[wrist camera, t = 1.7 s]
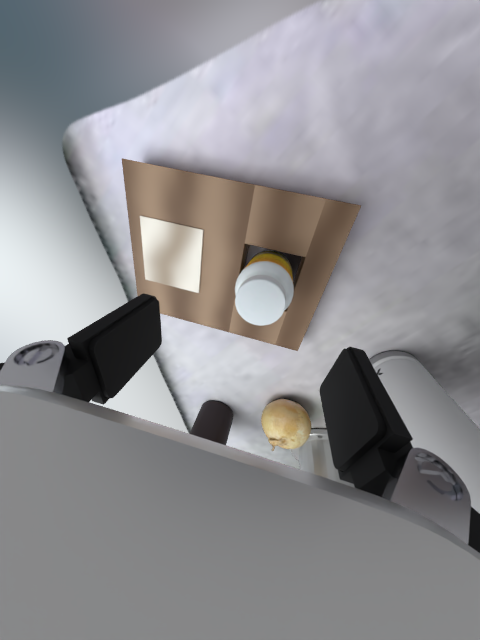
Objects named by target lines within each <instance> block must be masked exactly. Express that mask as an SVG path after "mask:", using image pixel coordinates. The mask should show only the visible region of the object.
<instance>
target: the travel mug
mask: <svg viewBox="0 0 480 640" xmlns="http://www.w3.org/2000/svg"><path fill="white" fill-rule="evenodd" d="M370 362H371V364H372V366H373V368H374V369H375V371H376V373H377V375H378V377H379V378H380V380H381V382H382V384H383V386H384V387H385V389H386V391H387V393H388V395H389V396H390V398H391V400H392V402H393V404H394V405H395V407H396V409H397V411H398V413H399V414H400V416H401V418H402V420H403V422H404V423H405V425H406V427H407V429H408V431H409V432H410V434H411V436H412V438H413V440H412V441H410V442H411V444H412V446H413V448H417V447H418V448H422V449H425V450H428V451H430V452H432V453H434V454H435V455H437V456H438V457H440V458H441V459H442V460H443V461H445V462H446V463H447V464H448V465H449V466H450V467H451V468H452V469H453V470H454V471H455V472H456V473H457V474H458V475H459V477H460V478H461V479H462V481H463V482H464V484H465V485H466V487H467V489H468V491H469V493H470V498H471V507H473V508H474V509H475V510H476V511H477V512H478V513H479V514H480V429H479V428H478V427H477V426H476V425H475V424H474V422H473V421H472V420H471V419H470V418H469V417H468V416H467V415H466V413H465V412H464V411H463V410H462V409H461V408H460V407H459V406H458V405H457V403H456V402H455V401H454V400H453V399H452V398H451V397H450V396H449V395H448V393H447V392H446V391H445V390H444V389H443V388H442V387H441V386H440V384H439V383H438V382H437V381H436V380H435V379H434V378H433V377H432V376H431V374H430V373H429V372H428V371H427V370H426V369H425V368H424V367H423V366H422V364H421V363H420V362H419V361H418V360H417V359H416V358H415V357H414V356H413V355H411V354H409V353H406V352H401V351H387V352H383V353H380V354H378V355H376V356H374V357H373V358H371V359H370Z"/></svg>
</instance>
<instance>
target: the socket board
mask: <svg viewBox="0 0 480 640" xmlns="http://www.w3.org/2000/svg"><path fill="white" fill-rule="evenodd" d="M122 165H123V174H124V182H125V191H126V200H127V208H128V217H129V226H130V234H131V243H132V251H133V260H134V269H135V277H136V286H137V295H138V296H139V295H141V294H143V293H144V294H148V295H152V296H155V297H156V298H157V300H158V301H159V306H160V313H161V314H164V315H168V316H172V317H175V318H179V319H183V320H186V321H190V322H194V323H197V324H201V325H205V326H208V327H212V328H216V329H219V330H223V331H227V332H230V333H234V334H237V335H241V336H245V337H248V338H252V339H256V340H259V341H263V342H267V343H270V344H274V345H278V346H281V347H285V348H289V349H292V350H296V351H298V349H299V347H300V344H301V342H302V340H303V337H304V335H305V333H306V331H307V328H308V326H309V324H310V321H311V319H312V317H313V315H314V312H315V310H316V308H317V306H318V303H319V301H320V299H321V296H322V294H323V292H324V290H325V287H326V285H327V283H328V280H329V278H330V276H331V274H332V271H333V269H334V267H335V265H336V262H337V260H338V258H339V255H340V253H341V251H342V249H343V246H344V244H345V242H346V239H347V237H348V235H349V233H350V230H351V228H352V226H353V223H354V221H355V219H356V217H357V214H358V212H359V210H360V208H361V205H356V204H351V203H345V202H340V201H335V200H330V199H325V198H320V197H315V196H310V195H305V194H300V193H295V192H289V191H284V190H279V189H274V188H269V187H264V186H259V185H254V184H249V183H244V182H239V181H233V180H228V179H223V178H218V177H213V176H208V175H203V174H198V173H193V172H188V171H182V170H177V169H172V168H167V167H162V166H157V165H152V164H147V163H142V162H137V161H132V160H126V159H122ZM249 245H254V246H258V247H263V248H267V249H271V250H276V251H280V252H285V253H289V254H293V255H298V256H302V258H301V261H300V264H299V267H298V270H297V272H296V275H295V278H294V281H293V286H294V294H293V298H292V301H291V303H290V305H289V306H288V308H287V309H286V310H285V311H284V312H283V314H282V316H281V317H280V318H279V319H278V320H277V321H276V322H274V323H272V324H269V325H264V326H259V325H254V324H251V323H249V322H247V321H245V320H244V319H243V318H242V317H241V316H240V315H239V313H238V311H237V309H236V305H235V298H236V295H235V285H236V281H237V278H238V276H239V275H240V273H241V271H242V270H243V269H244V267H245V262H246V256H247V251H248V246H249Z"/></svg>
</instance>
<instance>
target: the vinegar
mask: <svg viewBox="0 0 480 640" xmlns="http://www.w3.org/2000/svg"><path fill="white" fill-rule="evenodd" d="M232 420H233V413H232V411H231V409H230V408H229V407H228V406H227V405H225V404H223V403H221V402H218V401H208V402H206V403H204V404H203V405H202V407H201V409H200V411H199V414H198V416H197V418H196V420H195V423H194V425H193V427H192V430H191V432H190V434H191V435H195V436H198V437H201V438H204V439H207V440H210V441H213V442H216V443H220V444H223V445H226V443H227V439H228V435H229V431H230V428H231V424H232Z"/></svg>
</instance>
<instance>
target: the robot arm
mask: <svg viewBox="0 0 480 640" xmlns="http://www.w3.org/2000/svg"><path fill="white" fill-rule="evenodd" d="M68 342H69V344H68V345H66V346H64V345H63V344H62V343H61V342H58V341H51V340H48V341H40V342H35V343H32V344H29V345H26V346H24V347H21V348H19V349H18V350H16V351H15V352H13V353H12V354H11V355H10V356H9V357H8V359H7V360H6V362H5V363H0V640H480V514H479V513H478V512H477V511H476V510H475V509H474V508H473V507H471V498H470V493H469V491H468V489H467V487H466V485H465V484H464V482H463V481H462V479H461V478H460V477H459V475H458V474H457V473H456V472H455V471H454V470H453V469H452V468H451V467H450V466H449V465H448V464H447V463H446V462H445V461H443V460H442V459H441V458H440V457H438V456H437V455H435V454H434V453H432V452H430V451H428V450H425V449H422V448H418V447H417V448H413V446H412V444H411V442H410V441H412V440H413V438H412V436H411V434H410V432H409V431H408V429H407V427H406V425H405V423H404V422H403V420H402V418H401V416H400V414H399V413H398V411H397V409H396V407H395V405H394V404H393V402H392V400H391V398H390V396H389V395H388V393H387V391H386V389H385V387H384V386H383V384H382V382H381V380H380V378H379V377H378V375H377V373H376V371H375V369H374V368H373V366H372V364H371V362H370V360H369V359H368V357H367V355H366V353H365V352H364V351H363V350H360V349H357V348H353V347H349V348H347V349H343V350H342V352H341V354H340V355H339V357H338V358H337V360H336V362H335V363H334V365H333V367H332V368H331V370H330V372H329V373H328V375H327V376H326V378H325V380H324V381H323V383H322V385H321V387H320V396H321V401H322V407H323V412H324V417H325V423H326V428H327V430H326V429H312V430H311V433H310V436H309V438H308V440H307V441H306V442H305V443H304V445H302V446H301V447H299V448H296V449H291V453H292V455H293V456H294V457H295V459H296V460H298V461H299V465H300V469H297V468H294V467H291V466H288V465H285V464H282V463H279V462H275V461H272V460H269V459H266V458H263V457H260V456H257V455H254V454H251V453H248V452H245V451H241V450H238V449H235V448H232V447H229V446H226V445H223V444H220V443H216V442H213V441H210V440H207V439H204V438H201V437H198V436H195V435H191V434H188V433H185V432H182V431H179V430H175V429H172V428H169V427H166V426H163V425H160V424H156V423H153V422H150V421H147V420H144V419H141V418H137V417H134V416H131V415H128V414H125V413H122V412H118V411H115V410H112V409H109V408H105V407H102V406H99V405H95V404H92V403H89V401H90V400H91V399H92V401H94V402H97V403H101V404H105V403H106V402H107V400H108V399H109V398H113V397H114V396H115V395H116V394H117V393H118V392H119V391H120V390H121V389H122V388H123V387H124V386H125V384H126V383H127V382H128V381H129V380H130V379H131V378H132V377H133V376H134V375H135V373H136V372H137V371H138V370H139V369H140V368H141V367H142V366H143V365H144V364H145V362H146V361H147V360H148V359H149V358H150V357H151V356H152V355H153V354H154V353H155V351H156V350H157V349H158V348H159V347H160V345H161V342H162V337H161V321H160V306H159V301H158V300H157V298H156V297H155V296H152V295H148V294H144V293H143V294H141V295H139V296H138V297H136V298H134V299H133V300H131V301H129V302H128V303H126V304H124V305H123V306H121V307H119V308H118V309H116V310H114V311H113V312H111V313H109V314H107V315H106V316H104V317H102V318H101V319H99V320H97V321H96V322H94V323H92V324H91V325H89V326H87V327H86V328H84V329H82V330H81V331H79V332H77V333H76V334H74V335H72V336H71V337H69V338H68Z"/></svg>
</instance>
